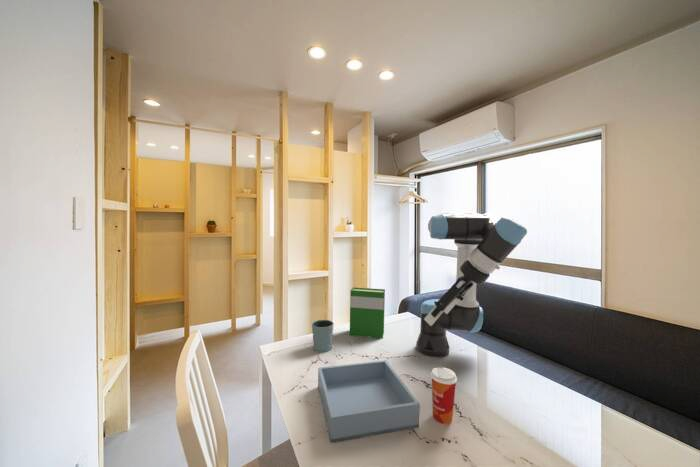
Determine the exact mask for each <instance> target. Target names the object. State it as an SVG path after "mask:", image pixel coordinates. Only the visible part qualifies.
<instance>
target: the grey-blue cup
mask: <svg viewBox="0 0 700 467" xmlns="http://www.w3.org/2000/svg"><path fill="white" fill-rule="evenodd" d="M311 330H312V340H313V343H312V344H313V350H314V351H316V352H318V353H327V352H330V351H331V350H332V348H333V332H334V321H332V320H330V319H318V320H314V321H312V323H311Z"/></svg>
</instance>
